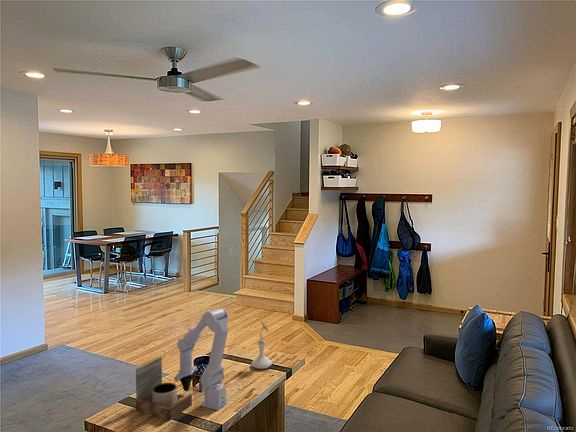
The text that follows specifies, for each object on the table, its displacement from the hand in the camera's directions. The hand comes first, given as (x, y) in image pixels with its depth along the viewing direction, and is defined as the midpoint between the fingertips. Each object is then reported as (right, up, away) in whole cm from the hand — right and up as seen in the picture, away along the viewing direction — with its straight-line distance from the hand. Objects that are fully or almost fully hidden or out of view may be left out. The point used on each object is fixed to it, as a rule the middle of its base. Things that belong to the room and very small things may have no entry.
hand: (186, 390), depth 202 cm
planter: (-6, -3, -14) cm, 15 cm away
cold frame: (-6, -3, -13) cm, 15 cm away
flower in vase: (+34, -1, +34) cm, 48 cm away
